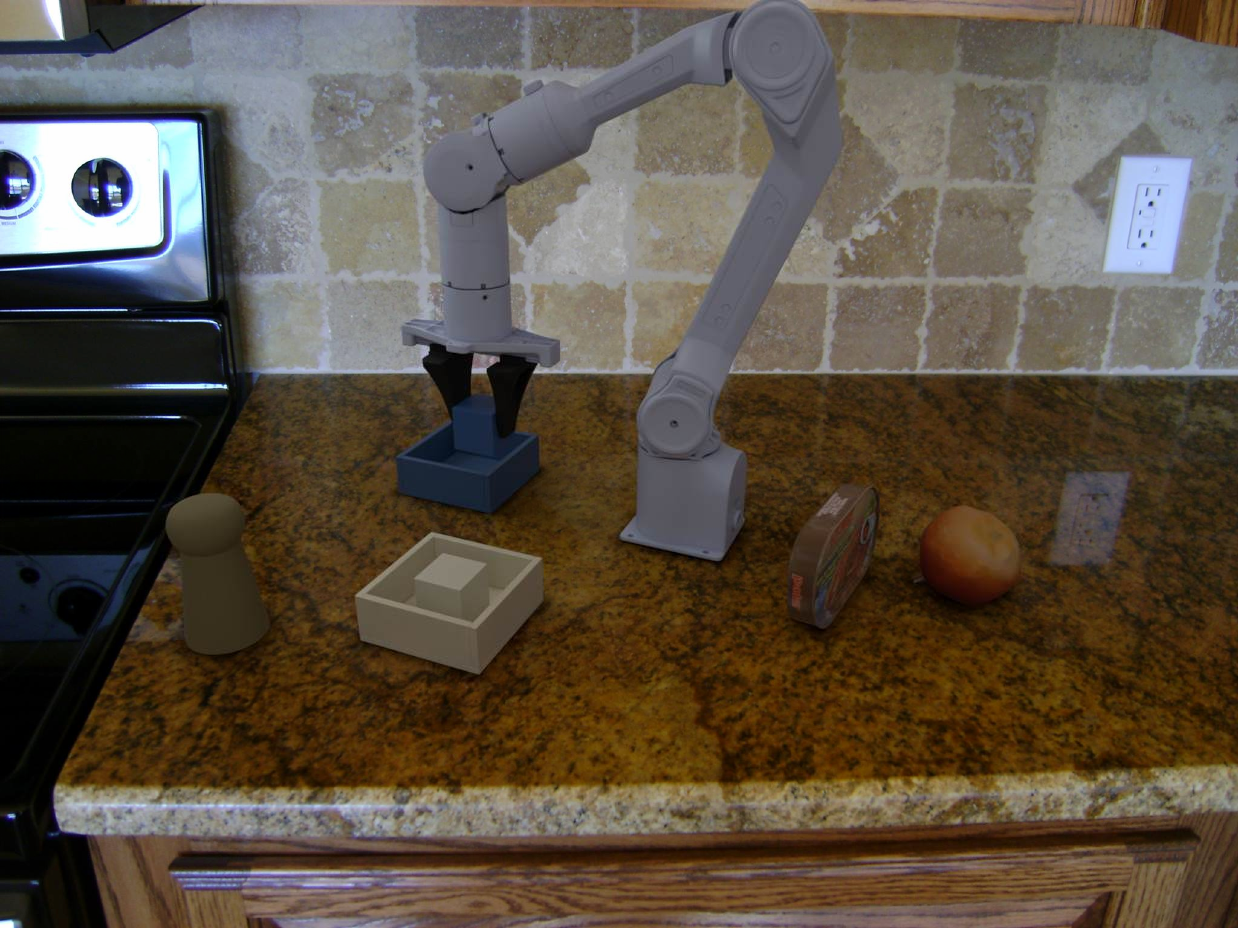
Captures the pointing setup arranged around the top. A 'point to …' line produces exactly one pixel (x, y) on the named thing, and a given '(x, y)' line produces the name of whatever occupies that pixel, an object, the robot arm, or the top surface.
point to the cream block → (453, 587)
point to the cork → (216, 575)
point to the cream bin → (440, 637)
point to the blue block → (478, 426)
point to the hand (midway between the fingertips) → (484, 429)
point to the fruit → (969, 556)
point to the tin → (832, 554)
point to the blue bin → (466, 470)
